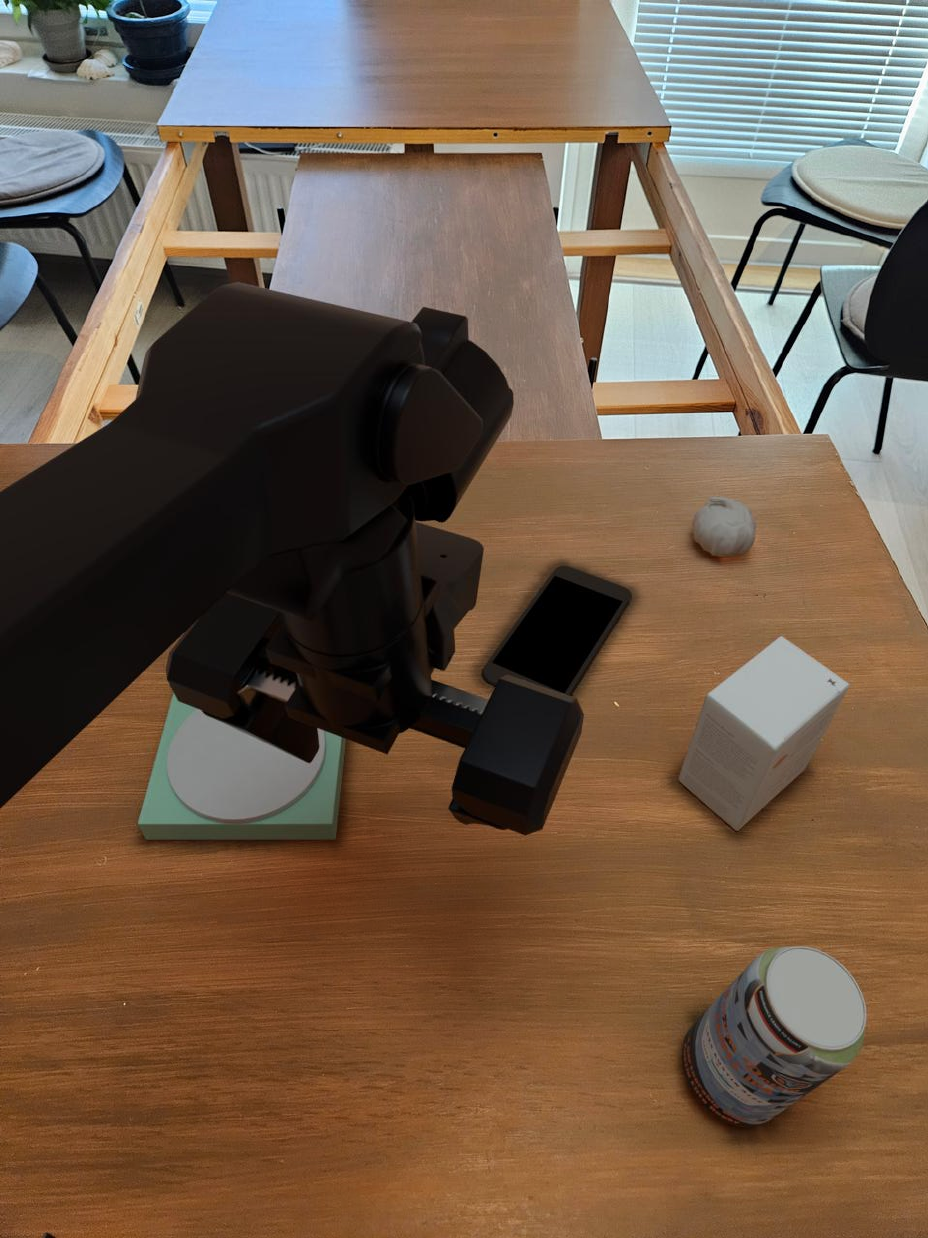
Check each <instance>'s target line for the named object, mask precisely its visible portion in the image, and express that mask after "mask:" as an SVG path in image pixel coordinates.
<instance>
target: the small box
mask: <svg viewBox="0 0 928 1238" xmlns="http://www.w3.org/2000/svg"><path fill="white" fill-rule="evenodd" d="M850 687H851V684H850V683H848V682H847V681H846V680H845V679H843V678H842V677H840V676H839V675H837V674H836V673H835V672H833V671H832V670H831V669H829V668H828V667H826V665H824V664H822V663H820V662H819V661H818V660H816V659H815V658H814V657H812V656H811V655H810V654H808V653H807V652H805V651H804V650H802V649H801V648H800V647H798V646H797V645H795V644H794V643H793V642H791V641H790V640H788V639H786V638H785V637H784V636H782V635H779V636H778V637H776V638H775V639H774V640H773V641H772V642H770V643H769V644H767V646H765V647H764V648H763V649H762V650H760V651H759V652H758V653H757V654H755V655H754V656H752V657H751V658H750V659H749V660H748V661H747V662H745V663H744V664H743V665H741V667H739V668H738V669H736V670H735V671H733V673H732V674H730V675H729V676H727V677H726V678H725V679H724V680H723V681H721V682H720V683H719V684H718V685H716V686H714V688H713V689H711V690H710V691H709V692H707V693H706V695H705V697H704V700H703V702H702V707H701V709H700V712H699V715H698V719H697V721H696V724H695V728H694V730H693V734H692V737H691V740H690V742H689V745H688V748H687V752H686V755H685V757H684V761H683V764H682V767H681V770H680V773H679V776H678V782H679V783H680V784H682V785H683V786H684V787H685V788H686V789H687V790H688V791H689V792H691V793H692V794H693V795H694V796H695V797H696V798H698V799H699V801H701V802H702V803H703V804H704V805H705V806H707V807H708V808H709V809H710V810H711V811H712V812H713V813H715V814H716V815H717V816H718V817H719V818H720V819H722V821H723V822H725V823H726V824H727V825H729V827H730V828H732V829H733V830H734V831H735V832H738V831H740V830H741V829H742V828H743V827H744V826H745V825H746V824H747V823H748V822H749V821H751V819H752V818H754V817H755V816H756V815H757V814H758V813H759V812H760V811H761V810H762V809H764V808H765V807H766V806H767V805H768V804H769V803H770V802H771V801H772V800H773V799H774V798H775V797H777V796H778V795H779V794H780V793H781V792H783V790H784V789H785V788H786V787H788V786H789V785H790V784H791V783H792V782H793V781H794V780H795V779H797V777H798V776H800V775H801V774H802V773H803V772H805V770H806V768H807V767H808V765H809V763H810V762H811V759H812V757H813V756H814V755H815V752H816V751H817V748H818V747H819V745H820V743H821V741H822V739H823V738H824V735H825V734H826V732H827V730H828V728H829V725H831V722H832V720H833V719H834V716H835V715H836V713H837V710H838V709H839V707H840V705H841V703H842V701H843V699H844V698H845V695H846V694H847V692H848V690H849V689H850Z"/></svg>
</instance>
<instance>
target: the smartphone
mask: <svg viewBox="0 0 928 1238" xmlns="http://www.w3.org/2000/svg"><path fill="white" fill-rule="evenodd" d="M632 598H633V594H632V591H631V590H630V589H629V588H627V587H625V586H624V585H620V584H618V583H615V582H612V581H610V580H607V579H604V578H601V577H600V576H596V575H593V574H590V573H588V572H586V571H583V570H581V569H577V568H575V567H573V566H570V565H559V566H557V567H555V569H553V571H552V572H551V573H550V574H549V576H548V578H547V579H546V580H545V582H544V583H543V584H542V586H541V587H540V588H539V589H538V591H537V592H536V593H535V595H534V597H533V598H532V599H531V601H530V602H529V604H528V605H527V606H526V608H525V609H524V611H522V613H521V615H520V616H519V618H518V619H517V620H516V622H515V623H514V624H513V626H512V627H511V628H510V630H509V631H508V632H507V634H506V635H505V637H504V638H503V639H502V641H501V642H500V643H499V645H498V646H497V648H496V649H495V651H494V652H493V653H492V655H490V657H489V659H488V660H487V662H486V663H485V664H484V666H483V667H482V670H481V678H482V680H483V681H484V683H486V684H488V685H490V686H492V687H495V686H496V684H497V682H498V680H499V678H501V677H503V676H505V675H510V676H513V677H516V678H519V679H522V680H525V681H528V682H531V683H534V684H537V685H540V686H543V687H546V688H549V689H551V690H554V691H557V692H560V693H563V694H566V695H569V696H572V697H573V695H574V693H575V691H576V690H577V688H578V686H579V685H580V683H581V681H582V680H583V678H584V677H585V675H586V674H587V672H588V670H589V669H590V667H591V666H592V664H593V663H594V661H595V659H596V658H597V656H598V655H599V653H600V652H601V650H602V648H603V646H604V645H605V644H606V642H607V640H608V638H609V637H610V635H611V634H612V632H613V630H614V629H615V627H616V626H617V625H618V623H619V622H620V620H621V618H622V617H623V615H624V613H625V611H626V610H627V608H628V606H629V605H630V603H631V601H632Z"/></svg>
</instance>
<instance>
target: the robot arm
mask: <svg viewBox="0 0 928 1238" xmlns="http://www.w3.org/2000/svg"><path fill="white" fill-rule="evenodd" d="M142 362H143V363H142V367H141V372H140V377H139V380H138V386H137V390H136V394H135V395H136V396H135V399H134V400H133V401H132V402H131V403H130V404H129V405H128V406H127V407H125V408H124V409H123V410H122V411H121V412H120V413H119V414H118V415H117V416H116V417H114V418H113V419H112V420H111V421H110V422H109V423H107V424H106V425H104V426H103V427H101V428H99V429H97V430H96V431H95V432H93V433H91V434H89V435H88V436H86V437H85V438H83V439H82V440H80V441H79V442H77V443H75V444H74V445H72V446H70V447H69V448H68V449H66V450H64V451H63V452H61V453H59V454H57V455H56V456H55V457H52V459H50V460H48V461H47V462H45V463H43V464H42V465H40V466H38V467H37V468H35V469H34V470H33V471H31V472H29V473H28V474H26V475H24V476H22V477H21V478H19V479H18V480H16V481H15V482H13V483H11V484H10V485H8V486H7V487H5V488H4V489H2V490H0V810H1V809H2V808H3V807H4V806H5V805H6V804H7V803H8V802H9V801H11V799H12V798H14V797H15V796H16V794H18V793H19V792H20V791H21V790H22V789H23V788H24V787H25V786H26V785H27V784H28V783H30V781H32V780H33V778H34V777H35V776H37V775H38V773H40V772H41V771H42V770H43V769H44V768H45V767H46V766H47V765H48V764H49V763H50V762H51V761H53V759H54V758H56V757H57V756H58V754H60V753H61V752H62V751H63V750H64V749H65V748H66V747H67V746H68V745H69V744H70V743H71V742H72V741H73V740H74V739H75V738H76V737H77V736H78V735H79V734H80V733H81V732H82V731H84V729H86V728H87V727H88V726H89V725H90V724H91V723H92V722H93V721H94V720H95V719H96V718H97V717H98V716H99V715H100V714H101V713H102V712H103V711H104V710H105V709H106V708H108V706H110V705H111V704H112V703H113V702H114V701H115V699H117V698H118V697H119V696H120V695H121V694H122V693H123V692H124V691H125V690H126V689H127V688H128V687H129V686H130V685H131V684H133V683H134V682H135V681H136V680H137V679H138V678H139V677H140V676H141V675H142V674H143V673H144V672H145V671H147V669H148V668H149V667H150V666H151V665H152V664H153V663H154V662H156V661H157V660H158V659H159V658H160V657H161V656H162V655H163V654H164V653H165V652H166V651H167V650H168V649H169V648H170V647H171V646H172V645H174V643H175V642H176V641H177V642H176V643H175V645H174V646H172V648H171V650H170V651H169V652H168V656H167V661H166V665H165V675H166V676H165V677H166V681H167V682H168V685H169V686H170V688H171V690H172V692H174V694H175V696H176V698H177V700H178V701H179V702H181V703H184V704H187V705H189V706H192V707H194V708H197V709H199V710H201V711H202V712H203V713H204V714H205V715H206V716H208V717H210V718H213V719H215V720H218V721H220V722H222V723H224V724H226V725H228V726H231V727H233V728H235V729H237V730H239V731H241V732H243V733H245V734H248V735H250V736H252V737H254V738H256V739H258V740H260V741H262V742H264V743H267V744H269V745H271V746H273V747H275V748H277V749H279V750H281V751H283V752H286V753H288V754H290V755H292V756H294V757H296V758H298V759H300V760H302V761H304V762H307V763H311V762H312V761H313V759H314V757H315V756H316V754H317V752H318V751H319V736H318V729H321V730H324V731H326V732H329V733H331V734H334V735H337V736H339V737H342V738H345V739H346V741H347V740H348V741H350V742H353V743H355V744H358V745H361V746H363V747H366V748H369V749H371V750H374V751H376V752H379V753H382V754H384V755H387V756H388V755H389V753H390V751H391V750H392V748H393V746H394V744H395V742H396V740H397V738H398V736H399V734H403V733H405V732H406V731H408V730H409V729H410V730H413V731H415V732H418V733H421V734H424V735H428V736H430V737H433V738H435V739H437V740H440V741H443V742H445V743H448V744H452V745H454V746H457V747H460V748H463V749H464V750H463V752H462V754H461V756H460V757H459V760H458V763H457V767H456V770H455V775H454V778H453V782H452V785H451V797H452V799H451V801H450V803H449V804H448V811H449V812H450V813H451V815H452V816H453V817H454V819H455V820H456V821H457V822H459V823H460V824H463V825H466V826H467V825H482V826H488V827H491V828H494V829H496V830H500V831H506V830H509V831H512V832H515V833H517V834H520V835H522V836H526V837H527V836H529V835H531V834H534V833H536V832H538V831H541V830H543V829H544V827H545V824H546V822H547V819H548V817H549V814H550V811H551V810H552V807H553V804H554V802H555V799H556V798H557V794H558V792H559V790H560V787H561V784H562V782H563V779H564V777H565V775H566V773H567V770H568V767H569V765H570V762H571V760H572V758H573V755H574V753H575V750H576V748H577V745H578V743H579V740H580V738H581V735H582V733H583V725H584V718H585V714H584V711H583V709H582V707H581V705H580V703H579V700H578V698H577V697H575V696H573V695H572V696H569V695H566V694H563V693H560V692H557V691H554V690H551V689H549V688H546V687H543V686H540V685H537V684H534V683H531V682H528V681H525V680H522V679H519V678H516V677H513V676H510V675H505V676H503V677H501V678H499V680H498V682H497V684H496V686H494V688H493V690H492V693H491V695H490V696H489V698H486V697H483V696H481V695H477V694H474V693H472V692H469V691H465V690H463V689H460V688H457V687H454V686H451V685H448V684H445V683H443V682H440V681H437V680H434V679H432V674H433V673H434V671H435V669H436V670H439V671H442V672H445V671H446V670H447V669H448V667H449V664H450V662H451V660H452V659H453V657H454V655H455V653H456V638H455V636H456V635H455V629H456V628H457V626H459V624H460V623H461V621H462V620H464V618H465V617H466V616H467V614H468V613H469V612H470V611H472V610H473V609H474V608H476V605H477V600H478V593H479V586H480V579H481V572H482V564H483V558H484V551H485V549H484V548H485V547H484V545H483V544H482V543H481V542H480V541H478V540H477V539H474V538H472V537H468V536H466V535H462V534H458V533H455V532H452V531H448V530H445V529H441V528H438V527H435V526H431V525H430V524H429V525H428V524H425V523H423V522H433V521H434V522H437V523H446V522H447V521H448V520H449V519H450V518H451V517H452V515H453V513H454V511H455V509H456V508H457V506H458V504H459V503H460V501H461V500H462V499H463V497H464V495H465V493H466V491H467V490H468V488H469V486H470V485H471V484H472V481H473V480H474V478H475V477H476V475H477V473H478V472H479V471H480V469H481V467H482V465H483V464H484V462H485V460H486V459H487V457H488V455H489V454H490V452H491V450H492V449H493V447H494V446H495V444H496V443H497V441H498V439H499V438H500V436H501V434H502V433H503V431H504V429H505V428H506V426H507V424H508V422H509V421H510V419H511V418H512V414H513V411H514V405H515V400H514V399H515V398H514V391H513V389H512V388H511V387H510V385H509V383H508V380H507V378H506V376H505V375H504V373H503V372H502V368H501V367H500V366H499V364H498V363H497V362H496V361H495V360H494V359H493V358H492V357H491V356H490V354H488V353H487V351H485V350H484V349H483V348H481V347H480V346H478V345H477V344H476V343H475V342H474V341H472V340H470V338H469V318H468V317H467V316H466V315H462V314H457V313H453V312H449V311H444V310H440V309H436V308H430V307H427V306H423V307H421V309H420V310H419V311H418V313H417V314H416V315H415V316H414V318H413V319H412V320H411V321H407V320H403V319H399V318H394V317H390V316H386V315H382V314H378V313H373V312H369V311H365V310H361V309H356V308H351V307H347V306H343V305H338V304H333V303H331V302H325V301H322V300H318V299H313V298H308V297H304V296H300V295H295V294H292V293H286V292H282V291H278V290H274V289H269V288H266V287H261V286H257V285H252V284H249V283H243V282H240V281H236V282H232V283H231V282H230V283H227V284H224V285H221V286H219V287H218V288H216V289H214V290H213V291H212V292H210V293H209V294H208V295H207V296H205V297H204V298H203V299H202V300H201V301H200V302H199V303H197V304H196V305H195V306H194V307H193V308H192V309H190V311H188V312H187V313H186V314H184V316H183V317H181V318H180V319H179V320H178V321H177V322H175V323H174V324H173V325H172V326H170V328H169V329H168V330H166V331H165V332H163V334H161V336H160V337H158V338H157V339H156V340H155V341H154V342H153V343H152V344H151V345H150V346H149V347H148V348H147V350H146V351H145V354H144V358H143V361H142ZM317 728H318V729H317ZM41 1238H57V1236H54V1235H53V1234H51V1233H50V1232H48V1231H46V1232H44V1233H43V1235H42V1237H41Z"/></svg>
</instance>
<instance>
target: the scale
mask: <svg viewBox="0 0 928 1238" xmlns="http://www.w3.org/2000/svg"><path fill="white" fill-rule="evenodd" d="M172 692H173V691H172ZM317 729H318V728H317ZM318 736H319V751H318V752H317V754H316V756H315V757H314V759H313V761H312V762H311V763H307V762H304V761H302V760H300V759H298V758H296V757H294V756H292V755H290V754H288V753H286V752H283V751H281V750H279V749H277V748H275V747H273V746H271V745H269V744H267V743H264V742H262V741H260V740H258V739H256V738H254V737H252V736H250V735H248V734H245V733H243V732H241V731H239V730H237V729H235V728H233V727H231V726H228V725H226V724H224V723H222V722H220V721H218V720H215V719H213V718H210V717H208V716H206V715H205V714H204V713H203V712H202V711H201V710H199V709H197V708H194V707H192V706H189V705H187V704H184V703H181V702H179V701H178V700H177V698H176V696H175V694H174V692H173V693H172V696H171V700H170V703H169V707H168V711H167V715H166V718H165V722H164V726H163V729H162V733H161V737H160V740H159V743H158V747H157V751H156V755H155V759H154V762H153V765H152V769H151V773H150V777H149V780H148V783H147V788H146V792H145V796H144V799H143V802H142V807H141V810H140V814H139V817H138V821H137V826H138V827H139V829H140V831H141V833H142V835H143V836H144V839H145V840H147V841H148V840H149V841H150V840H151V841H152V840H153V841H155V840H156V841H157V840H163V841H165V840H166V841H167V840H168V841H170V840H173V841H174V840H175V841H176V840H177V841H179V840H182V841H183V840H184V841H185V840H187V841H188V840H189V841H190V840H192V841H193V840H197V841H207V840H208V841H209V840H210V841H212V840H218V841H219V840H221V841H223V840H225V841H226V840H227V841H230V840H232V841H233V840H234V841H235V840H239V841H241V840H242V841H243V840H245V841H246V840H249V841H250V840H251V841H252V840H253V841H254V840H256V841H257V840H259V841H262V840H269V841H270V840H273V841H274V840H275V841H277V840H281V841H282V840H283V841H286V840H287V841H288V840H290V841H291V840H295V841H298V840H299V841H300V840H301V841H302V840H303V841H304V840H307V841H308V840H313V841H314V840H316V841H317V840H319V841H320V840H322V841H323V840H324V841H325V840H332V841H333V840H336V839H337V832H338V831H337V830H338V820H339V810H340V801H341V792H342V782H343V771H344V763H345V755H346V745H347V744H346V743H347V739H345V738H342V737H339V736H337V735H334V734H331V733H329V732H326V731H324V730H321V729H318Z"/></svg>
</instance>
